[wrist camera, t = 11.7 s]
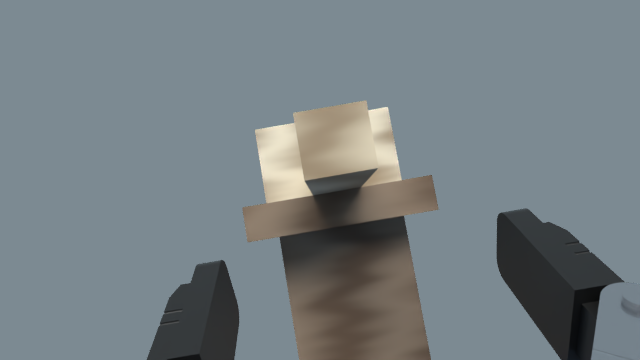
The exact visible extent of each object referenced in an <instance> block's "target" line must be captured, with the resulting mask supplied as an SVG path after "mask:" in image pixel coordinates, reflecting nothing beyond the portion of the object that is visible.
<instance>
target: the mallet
mask: <svg viewBox="0 0 640 360" xmlns="http://www.w3.org/2000/svg"><path fill="white" fill-rule="evenodd" d="M293 116H294V121H295V123H292V124H286V125H280V126H275V127H269V128H263V129H257V130H255V133H256V139H257V146H258V152H259V158H260V165H261V171H262V177H263V184H264V190H265V196H266V201H267V203H272V202H278V201H283V200H289V199H295V198H301V197H307V196H313V195H318V194H324V193H330V192H336V191H342V190H347V189H353V188H359V187H365V186H371V185H377V184H382V183H388V182H394V181H400V180H402V179H401V174H400V169H399V163H398V158H397V153H396V148H395V142H394V137H393V132H392V126H391V122H390V116H389V111H388V107H385V108H379V109H373V110H368V108H367V102H366V101H361V102H355V103H349V104H343V105H337V106H332V107H325V108H320V109H314V110H308V111H303V112H296V113H293Z"/></svg>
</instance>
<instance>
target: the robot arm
mask: <svg viewBox="0 0 640 360" xmlns="http://www.w3.org/2000/svg"><path fill="white" fill-rule="evenodd" d="M497 264H498V268H499V271H500V274H501V276H502V278H503V279H504V281H505V282H506V284H507V285H508V286H509V288H510V289H511V291H512V292H513V293H514V295H515V296H516V298H517V299H518V300H519V302H520V303H521V304H522V306H523V307H524V309H525V310H526V311H527V313H528V314H529V316H530V317H531V318H532V320H533V321H534V323H535V324H536V325H537V327H538V328H539V330H540V331H541V332H542V334H543V335H544V336H545V338H546V339H547V341H548V342H549V343H550V345H551V346H552V347H553V349H554V350H555V352H556V353H557V354H558V356H559V357H560V359H561V360H640V284H637V283H628V282H624V281H623V280H622V279H621V278H620V277H618V276H617V275H616V274H615V273H614V272H613V271H612V270H610V268H608V267H607V266H606V265H605V264H604V263H603V262H602V261H601V260H600V259H598V258H597V257H596V256H595V255H594V254H593V253H590V252H589V250H588V249H587V248H586V247H585V246H584V245H583V244H580V243H579V241H578V240H577V239H576V238H575V237H574V236H573V235H572V234H571V233H570V232H568V231H567V230H565V229H563V228H561V227H559V226H556V225H555V224H552V223H550V222H547V223H542V222H541V221H540V220H539V219H538V218H537V217H536V216H535V215H534V214H533V213H532V212H531V211H530V210H528V209H520V210H514V211H509V212H503V213H500V214H499V215H498V218H497ZM164 313H165V314H164V315H163V317H162V319H161V322H160V326H159V328H158V331H157V333H156V336H155V339H154V341H153V344H152V347H151V350H150V352H149V355H148V358H147V360H234V356H235V349H236V342H237V334H238V327H239V310H238V304H237V300H236V297H235V293H234V290H233V287H232V283H231V280H230V277H229V273H228V270H227V267H226V264H225V262H224V261H223V260H220V261H215V262H209V263H203V264H198V265H197V266H196V268H195V271H194V274H193V277H192V281H191V283H189V284H183V285H180V287H179V288H178V289H177V290H176V291H175V292H174V293H173V294H172V295H171V297H170V298H169V300H168V303H167V306H166V308H165V311H164Z"/></svg>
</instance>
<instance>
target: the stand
mask: <svg viewBox="0 0 640 360" xmlns="http://www.w3.org/2000/svg"><path fill="white" fill-rule="evenodd" d="M433 210H438V204H437V200H436V194H435V189H434V184H433V180H432V175H429V176H423V177H418V178H412V179H406V180H400V181H394V182H388V183H382V184H377V185H371V186H365V187H359V188H353V189H347V190H342V191H336V192H330V193H324V194H318V195H313V196H307V197H301V198H295V199H289V200H283V201H278V202H272V203H266V204H260V205H255V206H248V207H243V215H244V221H245V227H246V234H247V241H248V242H252V241H258V240H263V239H269V238H275V237H280V243H281V248H282V255H283V261H284V267H285V274H286V280H287V286H288V292H289V299H290V305H291V311H292V317H293V323H294V329H295V335H296V342H297V349H298V354H299V360H431V358H430V352H429V347H428V341H427V336H426V331H425V326H424V320H423V315H422V310H421V304H420V300H419V294H418V289H417V283H416V278H415V273H414V267H413V262H412V257H411V251H410V246H409V241H408V235H407V230H406V225H405V220H404V215H409V214H415V213H421V212H427V211H433Z"/></svg>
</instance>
